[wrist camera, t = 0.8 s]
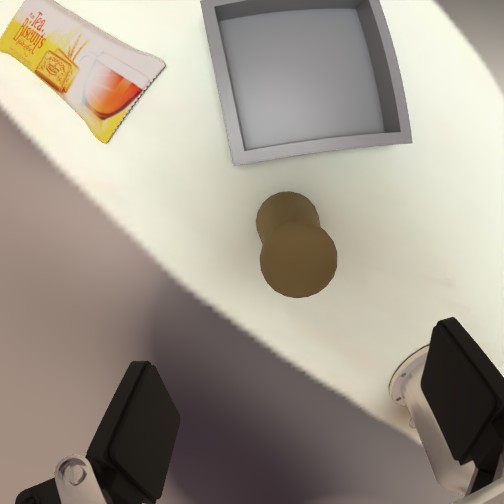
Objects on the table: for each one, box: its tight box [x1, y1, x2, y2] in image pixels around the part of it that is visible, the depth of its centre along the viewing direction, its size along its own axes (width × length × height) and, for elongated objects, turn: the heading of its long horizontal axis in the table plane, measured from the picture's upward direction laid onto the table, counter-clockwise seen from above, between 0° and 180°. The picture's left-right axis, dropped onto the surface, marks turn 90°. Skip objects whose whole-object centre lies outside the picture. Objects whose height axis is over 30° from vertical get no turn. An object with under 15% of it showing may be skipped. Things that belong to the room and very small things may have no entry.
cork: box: [256, 192, 337, 298], centre depth 23 cm, size 6×6×11 cm
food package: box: [0, 0, 165, 144], centre depth 21 cm, size 27×2×10 cm
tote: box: [200, 0, 412, 166], centre depth 21 cm, size 15×15×4 cm
